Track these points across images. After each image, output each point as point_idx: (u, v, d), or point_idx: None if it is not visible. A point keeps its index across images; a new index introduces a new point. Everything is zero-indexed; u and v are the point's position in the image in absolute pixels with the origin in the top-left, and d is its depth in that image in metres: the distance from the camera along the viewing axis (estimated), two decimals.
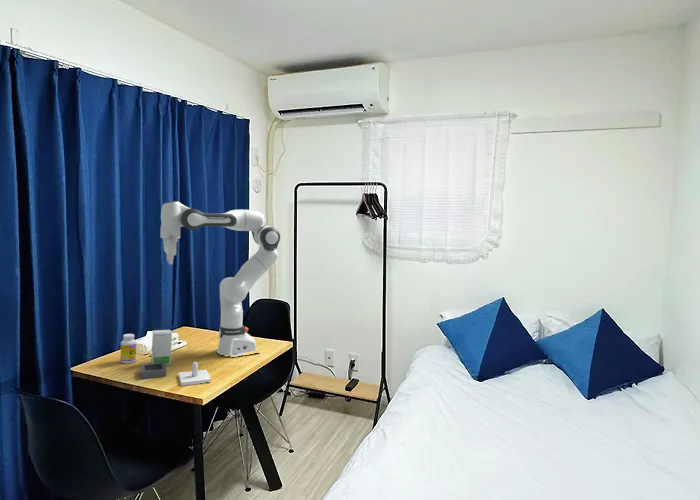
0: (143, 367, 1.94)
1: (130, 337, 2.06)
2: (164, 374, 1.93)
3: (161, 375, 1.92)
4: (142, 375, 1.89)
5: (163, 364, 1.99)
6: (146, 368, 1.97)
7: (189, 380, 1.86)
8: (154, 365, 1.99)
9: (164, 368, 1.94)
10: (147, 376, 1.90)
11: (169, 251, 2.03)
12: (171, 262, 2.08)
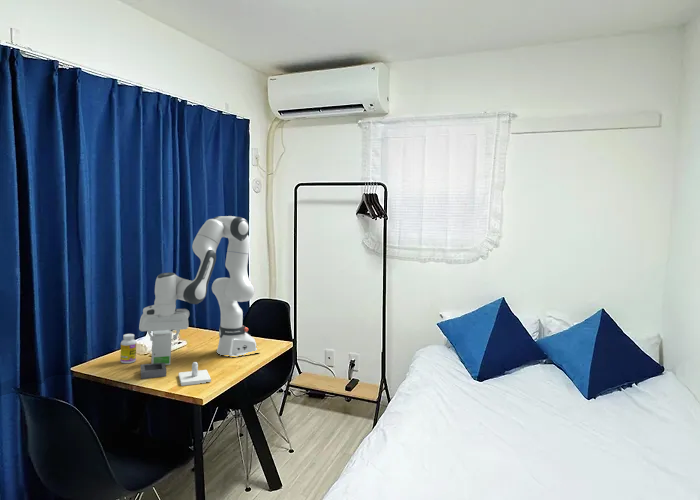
0: (143, 367, 1.94)
1: (130, 337, 2.06)
2: (164, 374, 1.93)
3: (161, 375, 1.92)
4: (142, 375, 1.89)
5: (163, 364, 1.99)
6: (146, 368, 1.97)
7: (189, 380, 1.86)
8: (154, 365, 1.99)
9: (164, 368, 1.94)
10: (147, 376, 1.90)
11: None
12: (176, 336, 1.99)
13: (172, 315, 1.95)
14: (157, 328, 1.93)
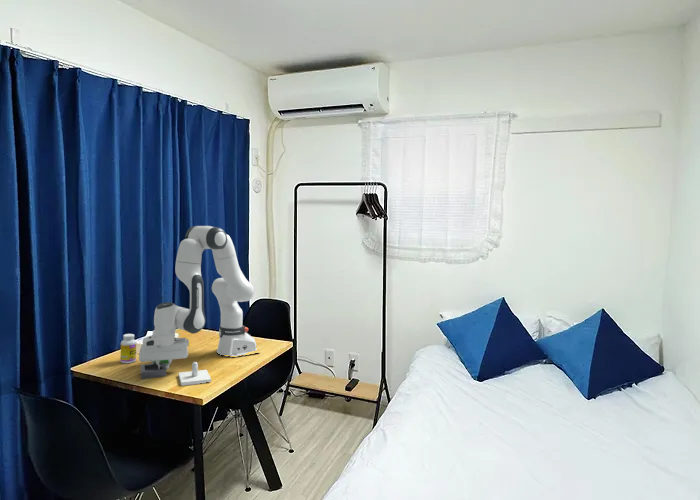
0: (143, 367, 1.94)
1: (130, 337, 2.06)
2: (164, 374, 1.93)
3: (161, 375, 1.92)
4: (142, 375, 1.89)
5: (163, 364, 1.99)
6: (146, 368, 1.97)
7: (189, 380, 1.86)
8: (154, 365, 1.99)
9: (164, 368, 1.94)
10: (147, 376, 1.90)
11: (187, 353, 2.00)
12: (168, 366, 1.98)
13: (172, 345, 1.96)
14: (157, 358, 1.94)
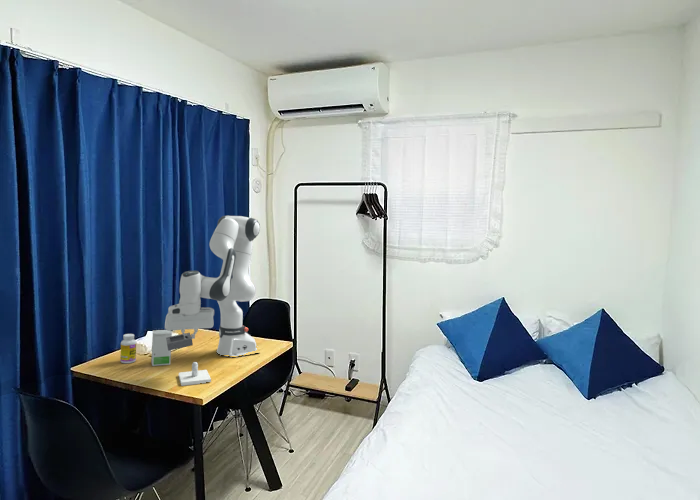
0: (168, 339, 1.91)
1: (130, 337, 2.06)
2: (191, 343, 1.90)
3: (187, 345, 1.89)
4: (169, 347, 1.86)
5: (188, 334, 1.96)
6: (172, 340, 1.94)
7: (189, 380, 1.86)
8: (179, 336, 1.96)
9: (189, 337, 1.91)
10: (174, 347, 1.87)
11: None
12: (194, 336, 1.95)
13: (197, 314, 1.93)
14: (183, 327, 1.91)
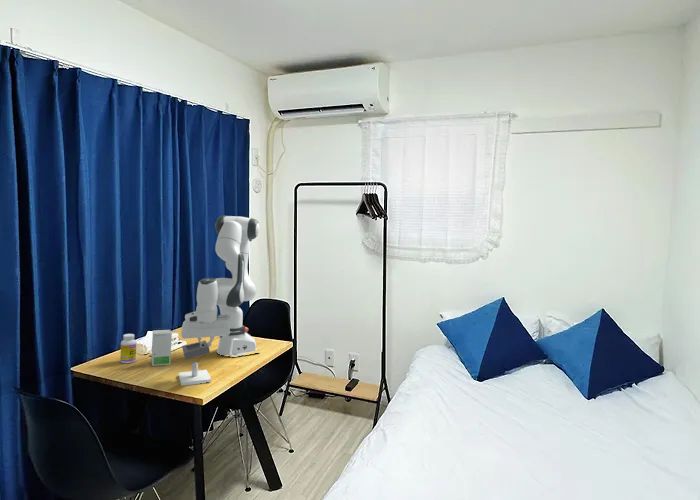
0: (185, 348, 1.90)
1: (130, 337, 2.06)
2: (208, 351, 1.88)
3: (204, 353, 1.88)
4: (186, 355, 1.84)
5: (204, 342, 1.94)
6: (188, 348, 1.93)
7: (189, 380, 1.86)
8: (195, 344, 1.94)
9: (206, 345, 1.90)
10: (191, 356, 1.85)
11: (229, 331, 1.96)
12: None
13: (214, 321, 1.92)
14: (199, 335, 1.89)
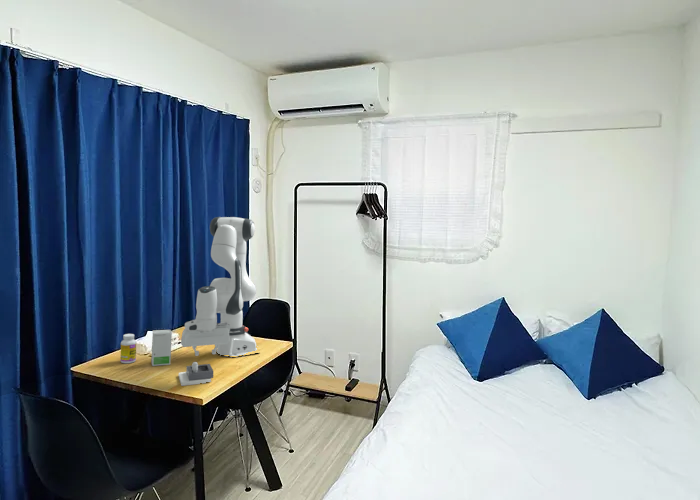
0: (190, 368, 1.92)
1: (130, 337, 2.06)
2: (211, 376, 1.90)
3: (208, 377, 1.90)
4: (190, 377, 1.86)
5: (209, 365, 1.97)
6: None
7: None
8: (200, 366, 1.96)
9: (211, 369, 1.92)
10: (195, 378, 1.87)
11: None
12: None
13: (214, 330, 1.92)
14: (199, 343, 1.90)
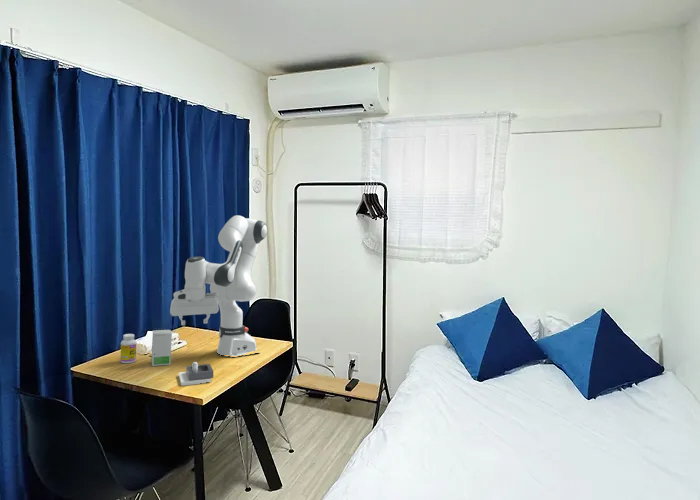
0: (190, 368, 1.92)
1: (130, 337, 2.06)
2: (211, 376, 1.90)
3: (208, 377, 1.90)
4: (190, 377, 1.86)
5: (209, 365, 1.97)
6: None
7: None
8: (200, 366, 1.96)
9: (211, 369, 1.92)
10: (195, 378, 1.87)
11: None
12: None
13: (202, 299, 1.94)
14: (188, 312, 1.92)
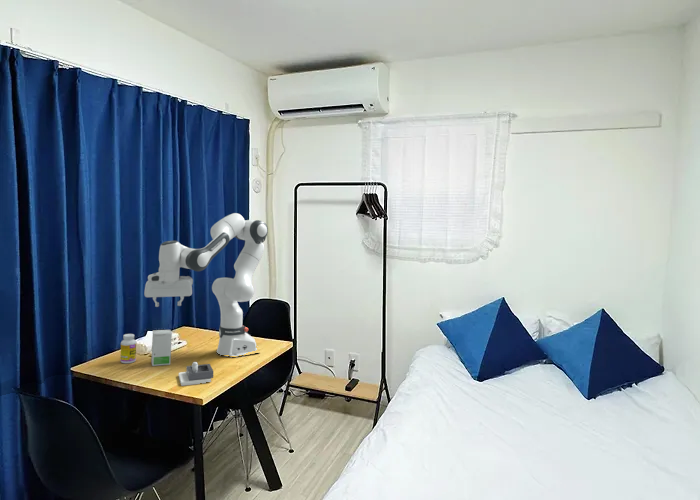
0: (190, 368, 1.92)
1: (130, 337, 2.06)
2: (211, 376, 1.90)
3: (208, 377, 1.90)
4: (190, 377, 1.86)
5: (209, 365, 1.97)
6: None
7: None
8: (200, 366, 1.96)
9: (211, 369, 1.92)
10: (195, 378, 1.87)
11: (191, 291, 2.04)
12: (180, 303, 2.04)
13: (176, 282, 2.00)
14: (162, 294, 1.98)
